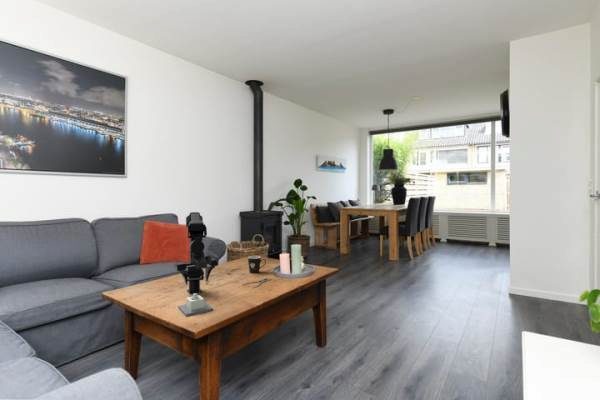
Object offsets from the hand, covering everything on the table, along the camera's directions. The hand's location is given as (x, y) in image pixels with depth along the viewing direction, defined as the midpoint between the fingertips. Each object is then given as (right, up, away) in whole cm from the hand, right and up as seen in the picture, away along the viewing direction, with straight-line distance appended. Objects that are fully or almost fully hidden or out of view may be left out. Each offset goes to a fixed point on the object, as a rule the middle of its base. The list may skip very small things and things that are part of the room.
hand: (196, 282), depth 146 cm
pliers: (+22, -11, +41) cm, 48 cm away
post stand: (0, -12, -1) cm, 12 cm away
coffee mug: (+18, -10, +65) cm, 68 cm away
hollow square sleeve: (0, -11, -1) cm, 11 cm away
